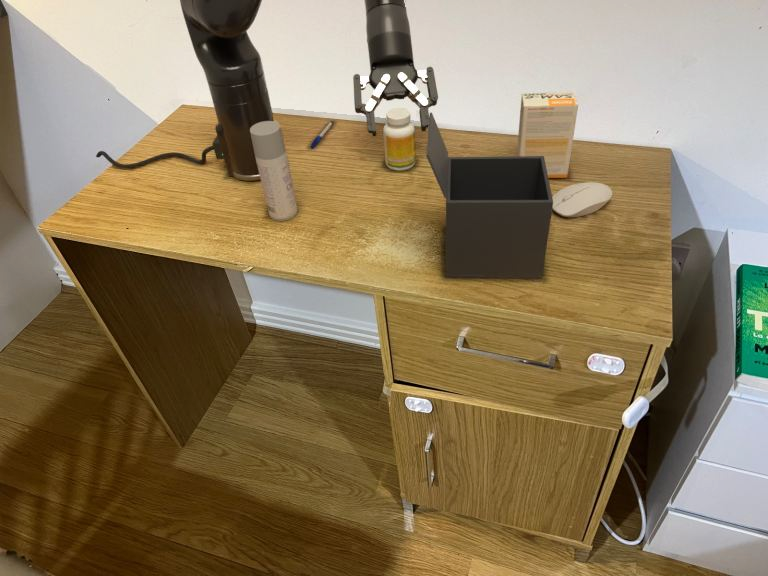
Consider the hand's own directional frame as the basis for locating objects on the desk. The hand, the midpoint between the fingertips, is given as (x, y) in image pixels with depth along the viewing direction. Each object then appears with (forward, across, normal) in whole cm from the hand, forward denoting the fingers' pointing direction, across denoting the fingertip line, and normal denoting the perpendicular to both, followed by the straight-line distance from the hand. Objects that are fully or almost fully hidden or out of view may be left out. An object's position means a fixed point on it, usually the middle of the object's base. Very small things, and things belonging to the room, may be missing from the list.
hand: (399, 132), depth 101 cm
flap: (+11, +3, -25) cm, 28 cm away
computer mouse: (+17, +26, -8) cm, 32 cm away
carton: (+24, +10, -15) cm, 30 cm away
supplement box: (+10, +23, 0) cm, 25 cm away
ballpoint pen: (-5, -14, +14) cm, 21 cm away
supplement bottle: (+4, 0, +4) cm, 6 cm away
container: (+13, -20, -4) cm, 24 cm away
